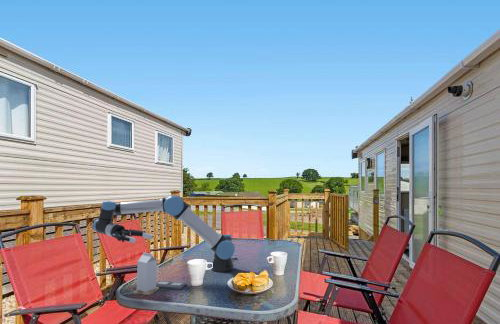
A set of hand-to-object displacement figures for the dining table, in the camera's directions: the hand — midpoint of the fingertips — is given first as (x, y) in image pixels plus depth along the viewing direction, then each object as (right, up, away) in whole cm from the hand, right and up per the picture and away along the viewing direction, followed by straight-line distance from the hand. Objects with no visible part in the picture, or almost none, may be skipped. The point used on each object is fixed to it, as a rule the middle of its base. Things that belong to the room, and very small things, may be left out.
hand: (143, 239), depth 174 cm
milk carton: (+4, -25, -9) cm, 27 cm away
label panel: (+15, -26, 0) cm, 30 cm away
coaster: (+4, -25, -9) cm, 27 cm away
